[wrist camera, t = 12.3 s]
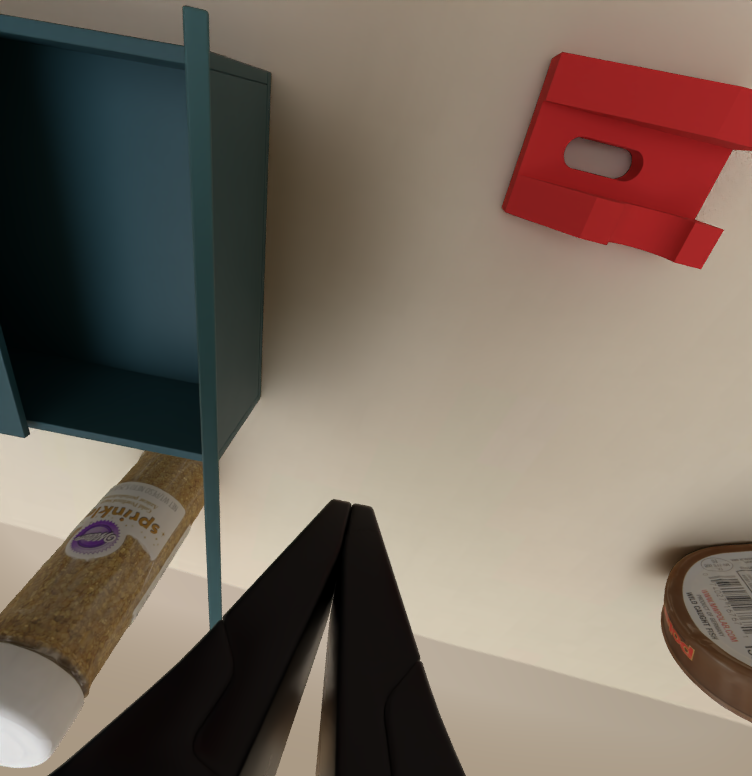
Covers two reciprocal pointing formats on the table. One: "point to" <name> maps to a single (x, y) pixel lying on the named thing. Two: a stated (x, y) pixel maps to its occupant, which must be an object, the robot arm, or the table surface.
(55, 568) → the sprinkles bottle
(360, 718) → the robot arm
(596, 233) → the bracket
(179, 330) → the box
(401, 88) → the table surface
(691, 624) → the tin
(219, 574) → the panel
